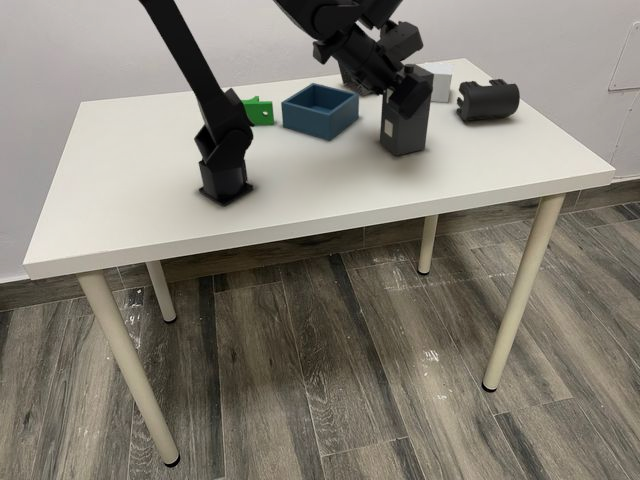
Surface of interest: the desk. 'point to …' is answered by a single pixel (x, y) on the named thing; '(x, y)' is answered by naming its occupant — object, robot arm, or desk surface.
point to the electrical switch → (351, 82)
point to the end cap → (487, 100)
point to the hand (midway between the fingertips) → (414, 106)
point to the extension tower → (402, 132)
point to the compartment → (320, 110)
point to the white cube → (440, 80)
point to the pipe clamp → (259, 111)
